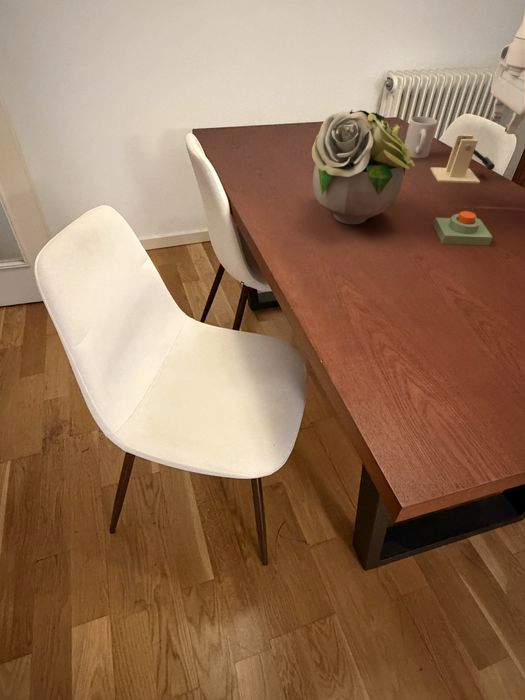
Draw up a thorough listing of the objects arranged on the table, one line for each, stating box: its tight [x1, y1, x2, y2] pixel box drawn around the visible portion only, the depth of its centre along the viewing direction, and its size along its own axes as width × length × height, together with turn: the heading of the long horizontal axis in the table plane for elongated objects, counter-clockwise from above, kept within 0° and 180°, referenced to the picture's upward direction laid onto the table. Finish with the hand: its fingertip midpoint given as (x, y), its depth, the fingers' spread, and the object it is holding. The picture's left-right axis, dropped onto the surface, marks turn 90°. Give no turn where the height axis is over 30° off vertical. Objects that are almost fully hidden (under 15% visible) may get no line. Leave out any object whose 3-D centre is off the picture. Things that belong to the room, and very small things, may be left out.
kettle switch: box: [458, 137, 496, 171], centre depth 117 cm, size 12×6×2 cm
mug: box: [404, 116, 438, 159], centre depth 131 cm, size 12×8×11 cm
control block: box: [432, 213, 493, 246], centre depth 97 cm, size 11×9×4 cm
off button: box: [458, 210, 477, 224], centre depth 95 cm, size 4×4×2 cm
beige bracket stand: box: [430, 134, 481, 185], centre depth 118 cm, size 12×10×12 cm
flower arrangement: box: [311, 109, 416, 225], centre depth 95 cm, size 25×25×24 cm
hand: (501, 126), depth 95 cm, fingers open, 8 cm apart
